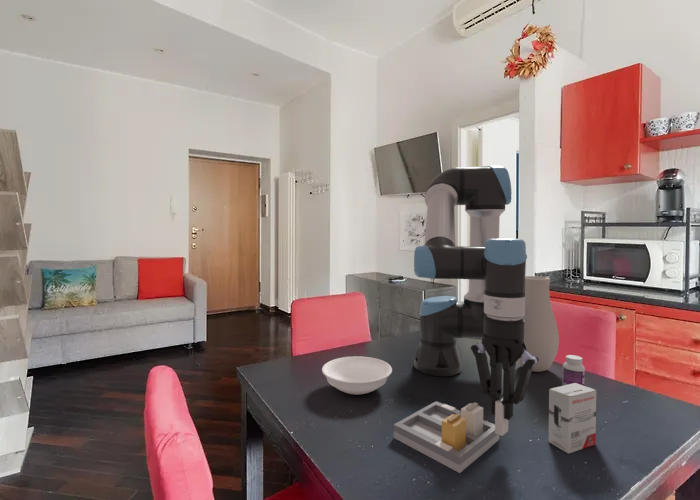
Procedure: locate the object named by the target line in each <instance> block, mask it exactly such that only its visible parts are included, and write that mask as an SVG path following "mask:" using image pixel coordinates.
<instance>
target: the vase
mask: <svg viewBox="0 0 700 500" xmlns="http://www.w3.org/2000/svg"><path fill="white" fill-rule="evenodd" d="M550 283H551V278H550V277H546V276H538V275H536V276H535V275H528V276H526V275H525V316H523V317H521V318H523V320H524V321H525V325H524V344H525V346H526V351H527V352H528V353H529V354H530V355H532V356H536V357H538V359H539V361H538V363H537V364H536V365H535V366H534V367H533V369H532V372H534V373H535V372H536V373H541V372H545V371H547V370H548V369H549V368H550V367H551V366H552V364H553V363H554V361H555V358H556V356H557V354H558V350H559V343H560V337H559V330H558V325H557V321H556V317H555V313H554V310H553V306H552V303H551V297H550V295H551V294H550ZM522 359H523V357H522V356H521V357H520V358H519V360H518V361H517V362H518V364H519V365H520V366H521V367H522V366H523V365H524V364H523V363H522Z"/></svg>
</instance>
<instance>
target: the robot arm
mask: <svg viewBox="0 0 700 500" xmlns="http://www.w3.org/2000/svg"><path fill="white" fill-rule="evenodd" d="M510 178H511V176H510V173H509V171H508V169H507V168H506V167H505V166H502V165H483V166H482V165H481V166H479V165H478V166H467V167H466V166H465V167H463V166H462V167H461V166H458V167H452V168H449V169H446V170H444V171H442V172H440V173H439V174H437V175H436V176H435V177H434V178H433V179H432V180H431V181H430V182H429V184H428V185H427V187H426V189H425V192H424V203H425V205H426V207H427V208H426V221H425V232H424V233H425V234H424V242H423V243H424V245H418V246H416V247H415V248H414V254H413V269H414V270H413V272H414V275H415V276H416V277H417V278H423V279H424V278H425V279H431V280H433V279H440V280H442V279H443V280H445V279H446V280H468V292H467V293H465V294H464V296H463V301H458V299H457V297H456V296H452V295H451V296H449V295H442V296H441V295H440V296H431V297H428V298H425V299H423V300H422V301H421V303H420V307H419V308H420V309H419V314H418V315H419V345H418V347H417V350H416V354H415V357H414V360H413V363H414V364H413V365H414V368H415V369H416V371H417V372H420V373H421V374H422V373H423V374H425V375H429V376H433V377H436V376H437V377H452V376H457V375H458V374H460V373H461V372H462V360H461V357H460V354H459V351H458V348H457V339H464V340H465V339H467V340H468V339H469V340H481V342H478V343H475V344H473V345H471V346H470V350H471V352H472V354H473V355H474V358H475V362H476V363H475V364H476V367H477V372H478V377H479V382H480V388H481V392H482V394H484V395H488V396H489V397H490V404H491V407H490V412H491V414H492V415H493V416H494V424H495V433H496V434H498V435H499V436H501V437H503V436H504V435H505V434H507V432H509V421H510V420H511V419H512V418H513V416H514V405H518V404H519V403H521V402H522V401H524V398H525V395H526V392H527V388H528V385H529V381H530V378H531V376H532V373H533V371H532V369H533V367H534V366H535V365H536V364H537V363H538V361H539V359H538V357H536V356H532V355H530V354H529V353H528V352H527V351H526V346H525V344H524V325H525V321H524V320H523V318H521V317H523V316H525V276H526V273H527V272H526V271H527V270H526V269H527V268H526V267H527V259H528V255H527V251H526V249H527V244H526V242H525V240H524V239H522V238H500V216H501V215H502V214H503V213H504V212H505V211H506V205H507V206H508V205H510V204H511V202H512V183H511V179H510ZM455 206H465V207H464V208H465V209H464V211H465V212H466V213H467V214H468V216H469V246H464V245H462V246H460V245H459V246H457V245H456V222H455V221H456V220H455V219H456V218H455V212H456V211H455ZM486 353H487V354H486ZM487 355H488V357H489V363H488V357H487ZM521 356H522V357H523V359H522V363H523V364H524V365H523V366H521V369H520V371H519V375H518V379H517V382H515V378H516V377H515V376H516V374H515V373H516V371H515V370H516V367H517V362H518V360H519V358H520V357H521ZM515 383H516V385H515ZM501 396H502V397H501Z"/></svg>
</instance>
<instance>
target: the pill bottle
mask: <svg viewBox="0 0 700 500" xmlns="http://www.w3.org/2000/svg"><path fill="white" fill-rule="evenodd" d="M585 376H586V367H585V366H584V364H583V357H581V356H579V355H573V354H568V355H566V356H565V362H564V363H563V364H562V385H561V386H564V385H568V384H572V383H577V384H580V385H583V386H585V379H586V377H585Z"/></svg>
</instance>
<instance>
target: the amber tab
mask: <svg viewBox="0 0 700 500" xmlns="http://www.w3.org/2000/svg"><path fill="white" fill-rule="evenodd" d="M442 442H443V443H445V444H447V445H449V446H451V447H453V449H455V450H457V451H459V450H460V449H461V448H463V447H464V446H465V444H466V419H464V418H461V417H460V414H455V415H454V414H452V415H450V416H449V417H447V418H445V419H444V420H442Z"/></svg>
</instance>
